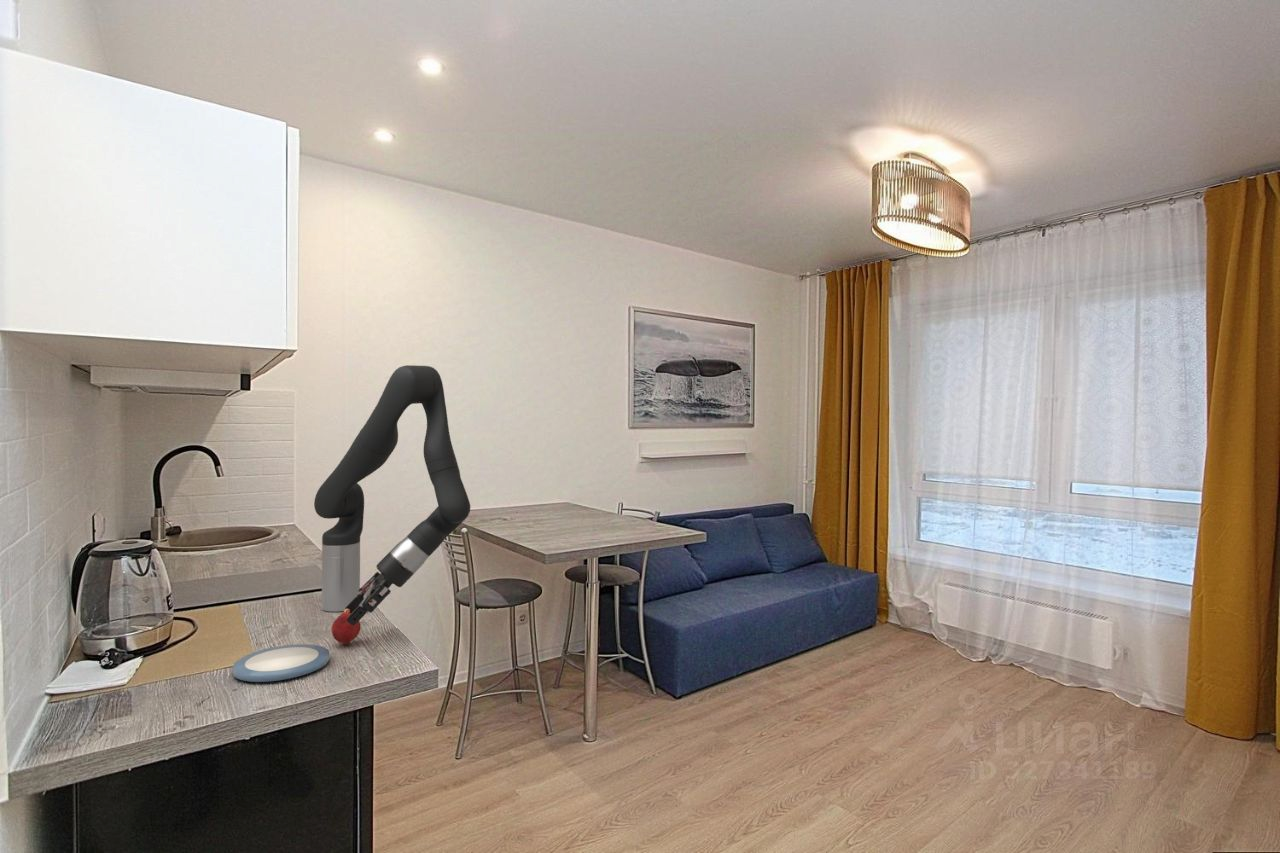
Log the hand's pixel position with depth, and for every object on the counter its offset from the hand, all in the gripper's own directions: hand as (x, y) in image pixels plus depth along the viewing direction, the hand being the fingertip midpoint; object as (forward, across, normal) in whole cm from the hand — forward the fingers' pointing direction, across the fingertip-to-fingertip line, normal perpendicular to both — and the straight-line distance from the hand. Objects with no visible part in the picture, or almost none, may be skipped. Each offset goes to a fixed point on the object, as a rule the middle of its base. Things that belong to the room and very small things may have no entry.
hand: (348, 617), depth 144 cm
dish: (+13, +9, -4) cm, 17 cm away
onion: (+5, 0, +4) cm, 6 cm away
